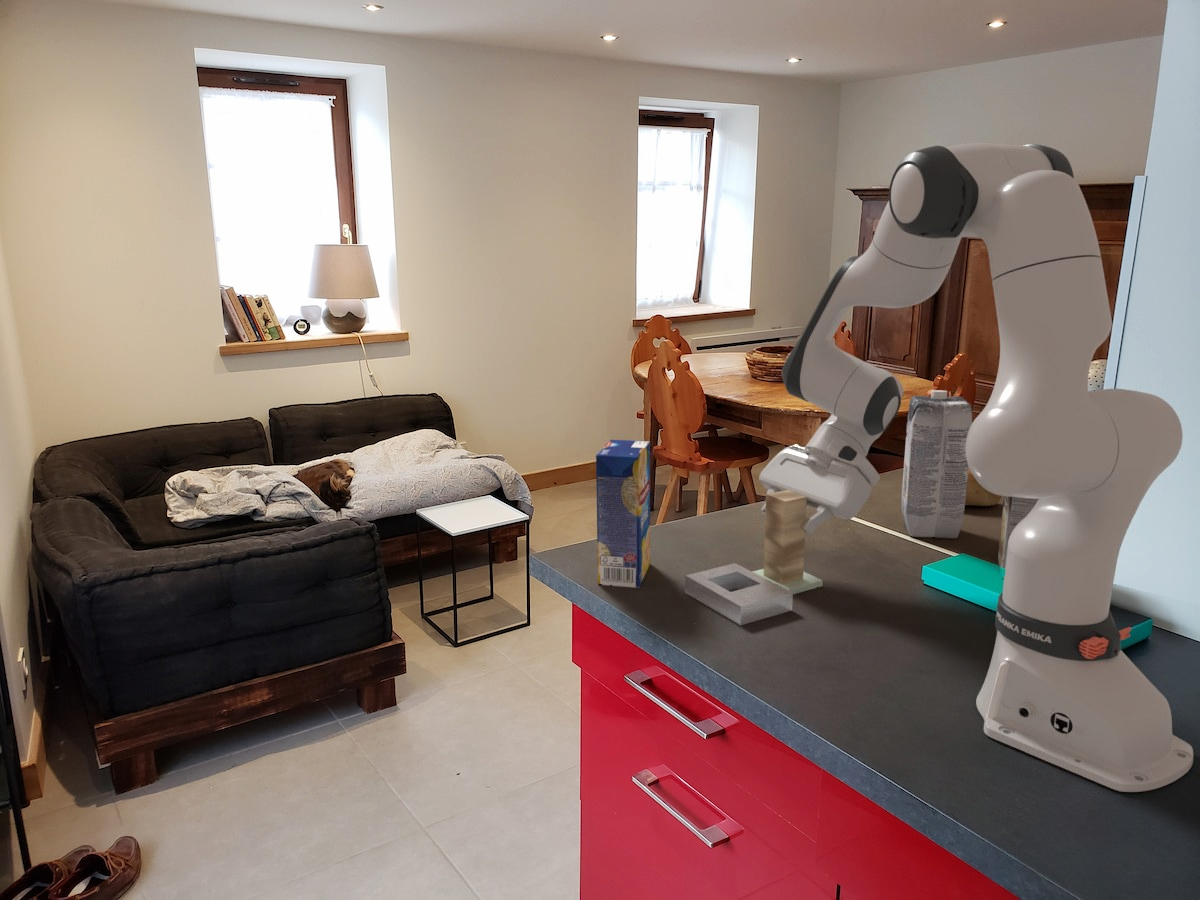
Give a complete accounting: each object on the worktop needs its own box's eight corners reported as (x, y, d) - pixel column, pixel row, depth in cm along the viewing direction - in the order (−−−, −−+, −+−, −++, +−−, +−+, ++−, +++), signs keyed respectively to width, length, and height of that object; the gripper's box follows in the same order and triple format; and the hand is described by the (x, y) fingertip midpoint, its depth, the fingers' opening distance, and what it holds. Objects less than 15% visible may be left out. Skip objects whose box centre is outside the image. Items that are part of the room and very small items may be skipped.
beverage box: (650, 563, 156) (650, 441, 150) (638, 588, 145) (638, 457, 140) (611, 560, 157) (610, 439, 152) (597, 584, 147) (595, 455, 141)
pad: (822, 586, 145) (822, 580, 145) (780, 598, 141) (780, 592, 140) (785, 568, 152) (785, 563, 152) (743, 579, 148) (743, 573, 148)
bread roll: (1005, 514, 179) (1009, 475, 177) (927, 510, 182) (930, 473, 180) (995, 499, 188) (998, 463, 186) (920, 496, 191) (923, 460, 189)
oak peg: (802, 578, 145) (806, 496, 142) (781, 584, 143) (785, 501, 140) (784, 570, 149) (787, 489, 146) (763, 575, 147) (766, 494, 144)
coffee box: (996, 559, 155) (1005, 470, 151) (1036, 563, 153) (1046, 473, 149) (1000, 579, 147) (1010, 485, 143) (1043, 583, 145) (1054, 488, 141)
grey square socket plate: (792, 610, 136) (792, 592, 135) (740, 625, 131) (740, 606, 130) (734, 580, 148) (735, 563, 147) (685, 592, 143) (685, 575, 142)
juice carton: (964, 541, 164) (978, 397, 157) (905, 539, 166) (916, 396, 159) (953, 525, 173) (966, 388, 166) (897, 523, 174) (907, 387, 168)
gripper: (780, 431, 153) (733, 495, 151) (869, 457, 136) (819, 529, 134) (798, 453, 157) (753, 515, 154) (888, 481, 139) (839, 551, 137)
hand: (784, 522), depth 144 cm, fingers open, 8 cm apart
